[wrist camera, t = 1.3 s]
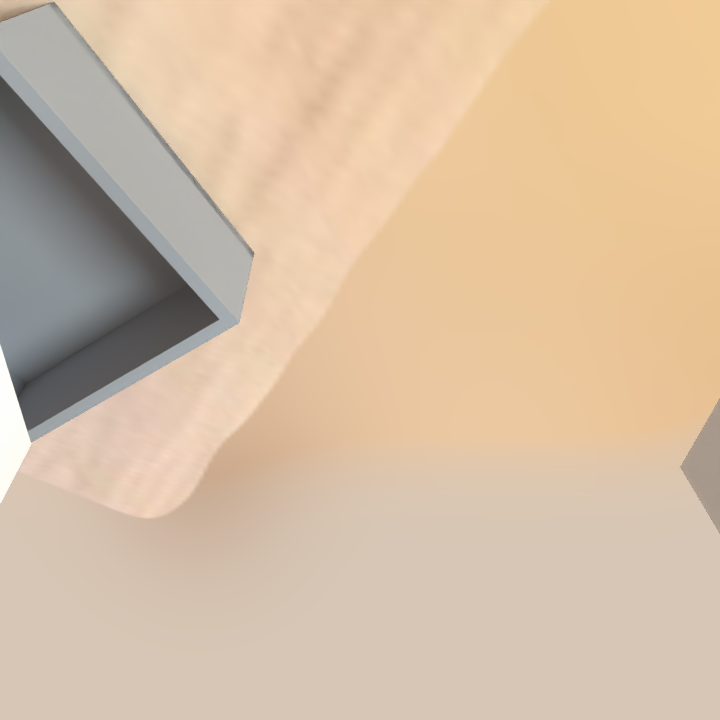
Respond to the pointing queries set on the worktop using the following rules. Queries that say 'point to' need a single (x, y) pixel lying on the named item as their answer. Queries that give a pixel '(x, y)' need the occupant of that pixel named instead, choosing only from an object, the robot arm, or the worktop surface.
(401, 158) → the worktop surface
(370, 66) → the worktop surface
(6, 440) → the robot arm
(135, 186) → the box
